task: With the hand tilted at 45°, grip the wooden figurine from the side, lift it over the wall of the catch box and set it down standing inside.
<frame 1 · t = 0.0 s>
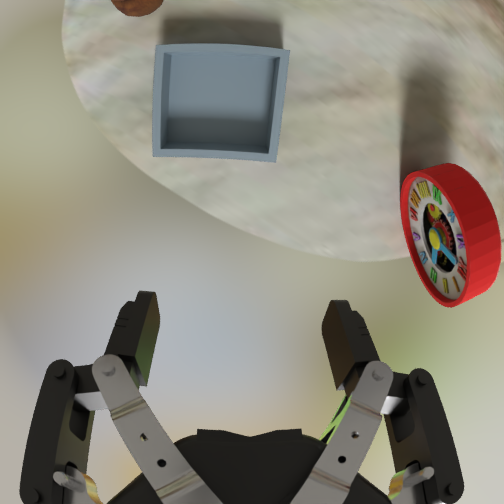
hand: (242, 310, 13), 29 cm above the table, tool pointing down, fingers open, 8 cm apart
toy clock: (413, 204, 43), on the table
catch box: (219, 98, 33), on the table
wooden figurine: (147, 0, 24), on the table
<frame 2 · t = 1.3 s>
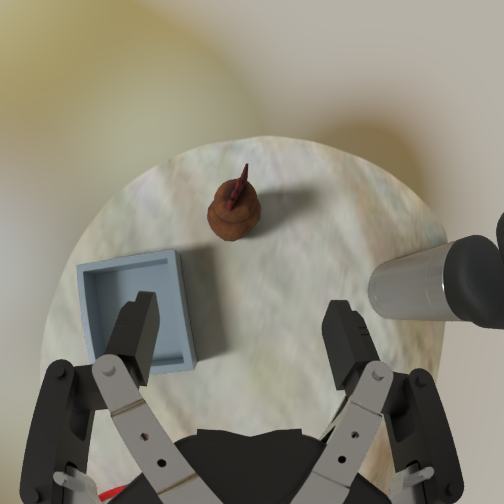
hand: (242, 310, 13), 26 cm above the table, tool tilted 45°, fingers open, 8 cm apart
toy clock: (126, 498, 31), on the table
catch box: (140, 315, 37), on the table
wooden figurine: (232, 223, 41), on the table
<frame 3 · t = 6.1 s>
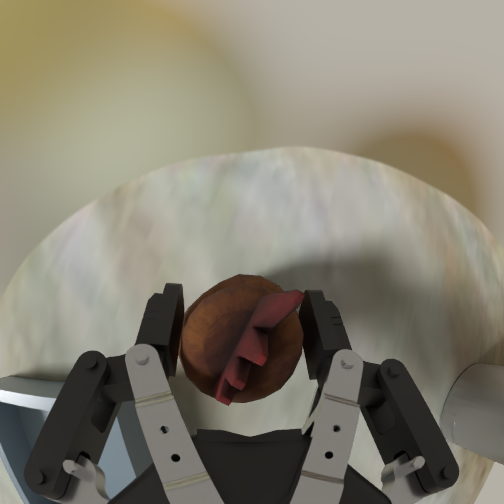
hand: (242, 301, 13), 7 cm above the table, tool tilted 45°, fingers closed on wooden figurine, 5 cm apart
catch box: (85, 458, 16), on the table
wooden figurine: (234, 327, 20), on the table, touching gripper
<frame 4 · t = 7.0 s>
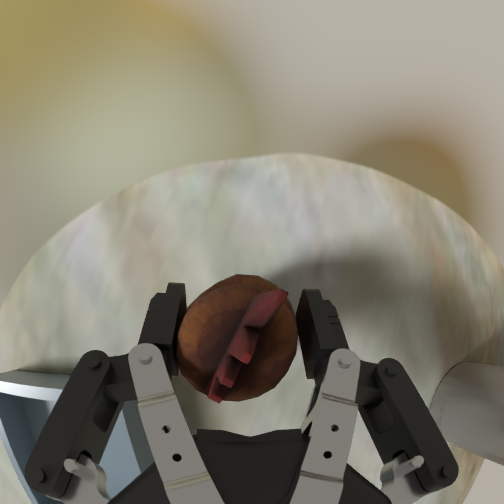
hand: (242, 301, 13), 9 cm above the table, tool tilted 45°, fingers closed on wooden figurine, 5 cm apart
catch box: (87, 448, 18), on the table
wooden figurine: (234, 327, 20), point 1 cm above the table, touching gripper
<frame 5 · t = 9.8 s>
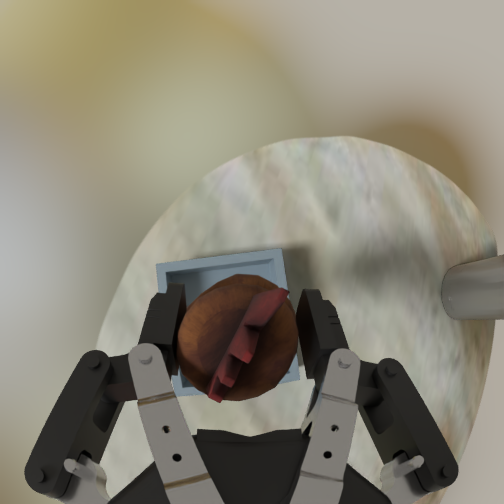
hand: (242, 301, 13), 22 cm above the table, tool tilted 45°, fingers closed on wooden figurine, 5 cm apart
catch box: (227, 321, 35), on the table
wooden figurine: (234, 327, 20), point 15 cm above the table, touching gripper
when the fingers open (10 cm above the table, at t = 12.9 s): wooden figurine drops 1 cm, resting on catch box.
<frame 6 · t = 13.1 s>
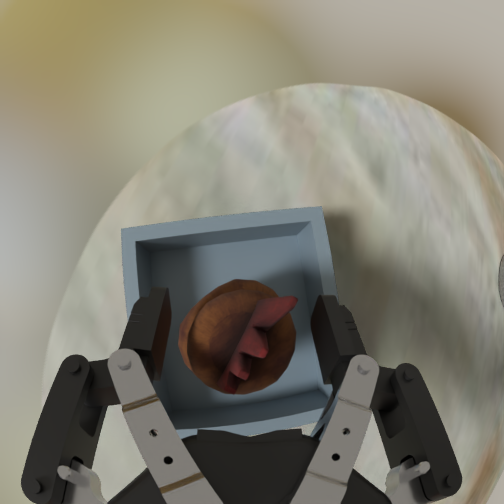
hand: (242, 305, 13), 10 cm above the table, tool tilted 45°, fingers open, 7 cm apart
catch box: (233, 325, 22), on the table
wooden figurine: (230, 328, 22), point 1 cm above the table, touching catch box
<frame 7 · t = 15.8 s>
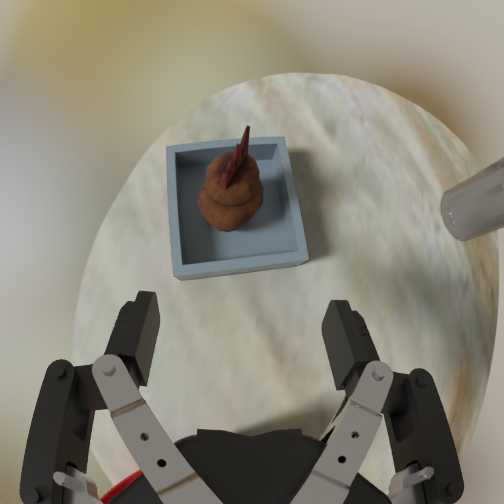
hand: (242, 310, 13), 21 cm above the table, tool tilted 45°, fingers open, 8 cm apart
toy clock: (177, 471, 28), on the table
catch box: (231, 213, 35), on the table
wooden figurine: (229, 212, 34), point 1 cm above the table, touching catch box
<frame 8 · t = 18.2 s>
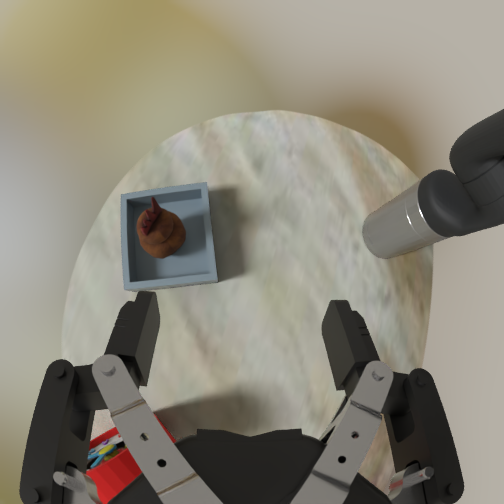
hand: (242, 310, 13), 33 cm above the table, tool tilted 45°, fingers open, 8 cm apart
toy clock: (133, 435, 39), on the table
catch box: (170, 241, 46), on the table
wooden figurine: (168, 241, 45), point 1 cm above the table, touching catch box
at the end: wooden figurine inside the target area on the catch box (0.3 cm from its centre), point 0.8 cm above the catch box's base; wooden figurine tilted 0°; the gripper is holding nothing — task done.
